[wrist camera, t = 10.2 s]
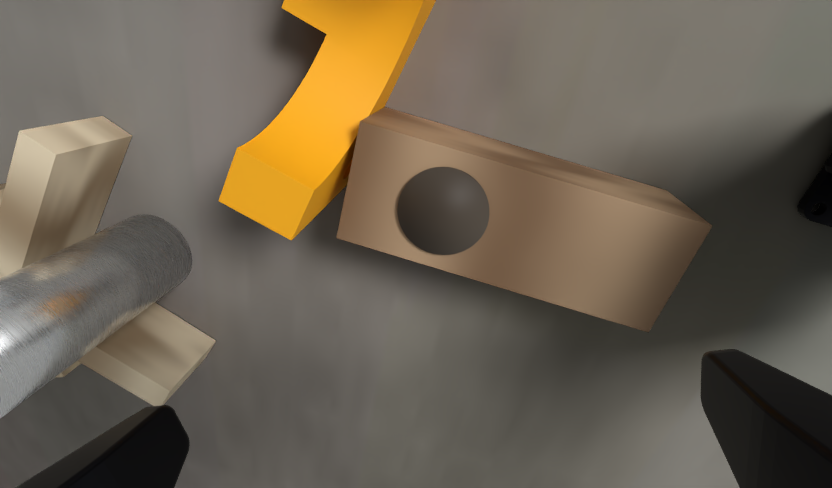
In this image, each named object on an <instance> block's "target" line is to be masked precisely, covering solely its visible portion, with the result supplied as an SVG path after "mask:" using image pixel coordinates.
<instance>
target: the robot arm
mask: <svg viewBox="0 0 832 488" xmlns="http://www.w3.org/2000/svg"><path fill="white" fill-rule="evenodd" d="M817 203H820V205H819V208H818V209H817V210H815V211H813V212H812V211H811V210H812V207H813V206H814V205H815V204H817ZM798 213H799V214H800V215H801V216H803V217H805V218H807V219H809V220H810V221H814V222H817V223H820V224H824V225H827V226H830V227H832V153H831V155H830V156H829V158H828V159H827V161H826V162H825V165H824V167H823V168H822V170H821V171H820V173H819V174H818V176H817V177H816V179H815V180H814V181H813V183H812V184H811V186H810V187H809V189H808V190H807V192H806V193H805V195H804V196H803V198H802V199H801V201H800V202H799V205H798ZM701 402H702V406H703V409H704V411H705V414H706V416H707V418H708V420H709V422H710V425H711V427H712V429H713V431H714V433H715V435H716V438H717V440H718V442H719V444H720V446H721V448H722V450H723V453H724V455H725V457H726V459H727V461H728V463H729V465H730V468H731V470H732V472H733V474H734V476H735V478H736V481H737V483H738V485H739V487H740V488H832V395H830V394H828V393H826V392H824V391H822V390H820V389H818V388H815V387H813V386H811V385H809V384H807V383H805V382H803V381H801V380H799V379H797V378H795V377H793V376H791V375H789V374H787V373H784V372H782V371H780V370H778V369H776V368H774V367H772V366H770V365H768V364H766V363H764V362H762V361H760V360H758V359H756V358H754V357H751V356H749V355H747V354H745V353H743V352H741V351H739V350H735V349H727V350H717V351H708V352H706V353H705V354H704V355H703V357H702V368H701ZM188 451H189V437H188V435H187V433H186V431H185V430H184V428H183V426H182V424H181V422H180V420H179V418H178V416H177V415H176V413H175V411H174V409H173V408H171V407H170V406H167V405H160V406H151V407H147V408H144V409H142V410H141V411H139V412H137V413H136V414H134V415H132V416H131V417H129V418H128V419H126V420H124V421H123V422H121V423H119V424H118V425H116V426H115V427H113V428H111V429H110V430H108V431H106V432H105V433H103V434H102V435H100V436H98V437H97V438H95V439H93V440H92V441H90V442H89V443H87V444H85V445H84V446H82V447H80V448H79V449H77V450H76V451H74V452H72V453H71V454H69V455H67V456H66V457H64V458H63V459H61V460H59V461H58V462H56V463H54V464H53V465H51V466H50V467H48V468H46V469H45V470H43V471H41V472H40V473H38V474H37V475H35V476H33V477H32V478H30V479H28V480H27V481H25V482H24V483H22V484H20V485H19V486H17V487H15V488H174V487H175V484H176V482H177V479H178V477H179V474H180V471H181V469H182V466H183V464H184V461H185V459H186V456H187V454H188Z"/></svg>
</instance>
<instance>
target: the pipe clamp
mask: <svg viewBox="0 0 832 488" xmlns="http://www.w3.org/2000/svg"><path fill="white" fill-rule="evenodd" d="M435 1H436V0H284V2H283V5H282V8H283V9H284V10H286V11H288V12H289V13H291V14H293V15H295V16H296V17H298V18H300V19H301V20H303V21H305V22H306V23H308V24H310V25H312V26H313V27H315V28H317V29H318V30H320V31H322V32H324V33H325V34H327V35H326V37H325V39H324V41H323V43H322V46H321V48H320V50H319V52H318V54H317V56H316V58H315V60H314V62H313V64H312V65H311V67H310V69H309V71H308V73H307V74H306V76H305V78H304V79H303V81H302V83H301V84H300V86H299V87H298V89H297V90H296V92H295V93H294V95H293V96H292V98H291V99H290V101H289V102H288V103H287V105H286V106H285V107H284V108H283V110H282V111H281V112H280V113H279V115H278V116H277V117H276V118H275V119H274V120H273V121H272V122H271V123H270V124H269V125H268V126H267V127H266V128H265V129H264V130H263V131H262V132H261V133H260V134H259V135H257V136H256V137H255V138H253V139H252V140H251V141H249V142H247V143H246V144H244V145H242V146H240V147H238V148H237V150H236V152H235V155H234V158H233V161H232V164H231V167H230V170H229V172H228V175H227V178H226V181H225V184H224V187H223V190H222V193H221V195H220V198H219V202H221V203H223V204H225V205H227V206H229V207H230V208H232V209H234V210H236V211H238V212H240V213H242V214H243V215H245V216H247V217H249V218H251V219H253V220H254V221H256V222H258V223H260V224H262V225H264V226H266V227H267V228H269V229H271V230H273V231H275V232H277V233H279V234H280V235H282V236H284V237H286V238H288V239H290V240H293V239H294V238H295V237H296V236H297V235H298V234H299V233H300V232H301V231H302V230H303V229H304V228H305V227H306V226H307V225H308V224H309V223H310V222H311V221H312V220H313V219H314V218H315V217H316V216H317V215H318V214H319V213H320V212H321V211H322V210H323V209H324V208H325V207H326V206H327V205H328V204H329V203H330V202H331V201H332V200H333V199H334V198H335V197H336V196H337V195H338V194H339V193H340V192H341V191H342V189H343V188H344V187H345V186H346V185H347V183H348V178H349V173H350V169H351V164H352V159H353V154H354V149H355V144H356V139H357V134H358V129H359V125H360V121H361V120H363V119H365V118H367V117H368V116H370V115H372V114H373V113H375V112H377V111H379V110H380V109H382V108H384V107H385V105H386V102H387V100H388V98H389V96H390V94H391V92H392V90H393V88H394V86H395V84H396V82H397V80H398V78H399V76H400V74H401V71H402V69H403V67H404V65H405V63H406V61H407V59H408V57H409V55H410V53H411V51H412V49H413V47H414V45H415V43H416V40H417V38H418V36H419V34H420V32H421V30H422V28H423V26H424V24H425V22H426V20H427V18H428V16H429V14H430V12H431V9H432V7H433V5H434V3H435Z"/></svg>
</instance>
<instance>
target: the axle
mask: <svg viewBox="0 0 832 488" xmlns="http://www.w3.org/2000/svg"><path fill="white" fill-rule="evenodd" d="M191 266H192V256H191V251H190V248H189V246H188V244H187V242H186V240H185V239H184V237H183V236H182V234H181V233H180V232H179V231H178V230H177V229H176V228H175V227H174V226H173V225H171V224H170V223H168V222H167V221H165V220H163V219H161V218H159V217H156V216H152V215H136V216H133V217H131V218H129V219H127V220H124V221H122V222H120V223H118V224H116V225H114V226H112V227H109V228H107V229H105V230H103V231H101V232H99V233H97V234H94V235H92V236H90V237H88V238H86V239H84V240H82V241H79V242H77V243H75V244H73V245H71V246H69V247H67V248H64V249H62V250H60V251H58V252H56V253H54V254H52V255H49V256H47V257H45V258H43V259H41V260H39V261H37V262H34V263H32V264H30V265H28V266H26V267H24V268H22V269H19V270H17V271H15V272H13V273H11V274H9V275H7V276H4V277H2V278H0V418H2V417H3V416H4V415H6V414H7V413H8V412H10V411H11V410H12V409H14V408H15V407H16V406H18V405H19V404H20V403H22V402H23V401H24V400H26V399H27V398H28V397H30V396H31V395H32V394H34V393H35V392H36V391H38V390H39V389H40V388H42V387H43V386H44V385H46V384H47V383H48V382H49V381H51V380H52V379H53V378H55V377H56V376H57V375H59V374H60V373H61V372H63V371H64V370H65V369H67V368H68V367H69V366H71V365H72V364H73V363H75V362H76V361H77V360H79V359H80V358H81V357H83V356H84V355H85V354H87V353H88V352H89V351H91V350H92V349H93V348H95V347H96V346H97V345H99V344H100V343H101V342H103V341H104V340H105V339H106V338H108V337H109V336H110V335H112V334H113V333H114V332H116V331H117V330H118V329H120V328H121V327H122V326H124V325H125V324H126V323H128V322H129V321H130V320H132V319H133V318H134V317H136V316H137V315H138V314H140V313H141V312H142V311H144V310H145V309H146V308H148V307H149V306H150V305H152V304H153V303H154V302H156V301H157V300H158V299H160V298H161V297H162V296H163V295H165V294H166V293H167V292H169V291H170V290H171V289H173V288H174V287H175V286H177V285H178V284H179V283H181V282H182V281H183V280H184V279H186V277H187V276H188V275H189V273H190V270H191Z"/></svg>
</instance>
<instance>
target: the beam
mask: <svg viewBox="0 0 832 488" xmlns="http://www.w3.org/2000/svg"><path fill="white" fill-rule="evenodd" d="M711 228H712V225H711V224H710V223H708V222H707V221H706V220H704V219H703V218H702V217H700V216H699V215H698V214H697V213H695V212H694V211H693V210H691V209H690V208H689V207H688V206H686V205H685V204H684V203H682V202H681V201H680V200H678V199H677V198H676V197H675V196H673V195H672V194H671V193H669V192H668V191H667V190H664V189H660V188H657V187H653V186H650V185H647V184H643V183H640V182H637V181H633V180H630V179H626V178H623V177H620V176H616V175H613V174H609V173H606V172H603V171H599V170H596V169H593V168H589V167H586V166H582V165H579V164H576V163H572V162H569V161H566V160H562V159H559V158H555V157H552V156H549V155H545V154H542V153H539V152H535V151H532V150H528V149H525V148H522V147H518V146H515V145H512V144H508V143H505V142H501V141H498V140H495V139H491V138H488V137H484V136H481V135H478V134H474V133H471V132H468V131H464V130H461V129H457V128H454V127H451V126H447V125H444V124H441V123H437V122H434V121H430V120H427V119H424V118H420V117H417V116H414V115H410V114H407V113H403V112H400V111H397V110H393V109H390V108H387V107H384V108H382V109H380V110H379V111H377V112H375V113H373V114H372V115H370V116H368V117H367V118H365V119H363V120H361V121H360V125H359V129H358V134H357V139H356V144H355V149H354V154H353V159H352V164H351V169H350V173H349V178H348V183H347V188H346V193H345V198H344V203H343V208H342V213H341V217H340V222H339V227H338V232H337V237H336V238H338V239H341V240H345V241H348V242H351V243H354V244H358V245H361V246H364V247H368V248H371V249H374V250H378V251H381V252H384V253H387V254H391V255H394V256H397V257H401V258H404V259H407V260H411V261H414V262H417V263H421V264H424V265H427V266H430V267H434V268H437V269H440V270H444V271H447V272H450V273H454V274H457V275H460V276H463V277H467V278H470V279H473V280H477V281H480V282H483V283H487V284H490V285H493V286H496V287H500V288H503V289H506V290H510V291H513V292H516V293H520V294H523V295H526V296H530V297H533V298H536V299H539V300H543V301H546V302H549V303H553V304H556V305H559V306H563V307H566V308H569V309H572V310H576V311H579V312H582V313H586V314H589V315H592V316H596V317H599V318H602V319H606V320H609V321H612V322H615V323H619V324H622V325H625V326H629V327H632V328H635V329H639V330H642V331H645V332H648V333H649V331H650V329H651V328H652V326H653V324H654V323H655V321H656V319H657V318H658V316H659V314H660V313H661V311H662V309H663V308H664V306H665V304H666V303H667V301H668V299H669V298H670V296H671V294H672V293H673V291H674V289H675V288H676V286H677V284H678V283H679V281H680V279H681V278H682V276H683V274H684V273H685V271H686V269H687V268H688V266H689V264H690V263H691V261H692V259H693V258H694V256H695V254H696V253H697V251H698V249H699V248H700V246H701V244H702V243H703V241H704V239H705V238H706V236H707V234H708V233H709V231H710V229H711Z"/></svg>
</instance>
